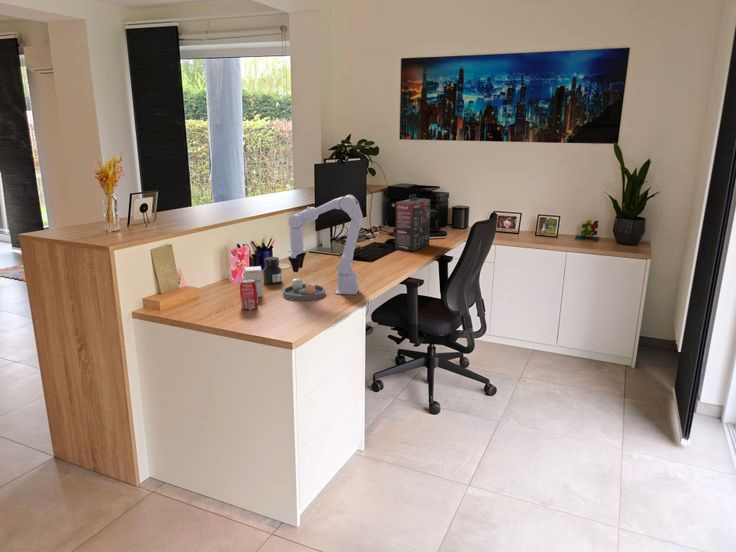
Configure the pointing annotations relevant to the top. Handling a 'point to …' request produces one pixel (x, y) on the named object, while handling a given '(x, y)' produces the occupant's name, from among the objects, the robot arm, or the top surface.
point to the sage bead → (296, 284)
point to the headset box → (412, 223)
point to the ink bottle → (272, 271)
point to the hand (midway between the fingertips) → (297, 269)
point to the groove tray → (303, 293)
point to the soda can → (248, 294)
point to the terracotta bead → (310, 289)
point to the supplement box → (255, 277)
